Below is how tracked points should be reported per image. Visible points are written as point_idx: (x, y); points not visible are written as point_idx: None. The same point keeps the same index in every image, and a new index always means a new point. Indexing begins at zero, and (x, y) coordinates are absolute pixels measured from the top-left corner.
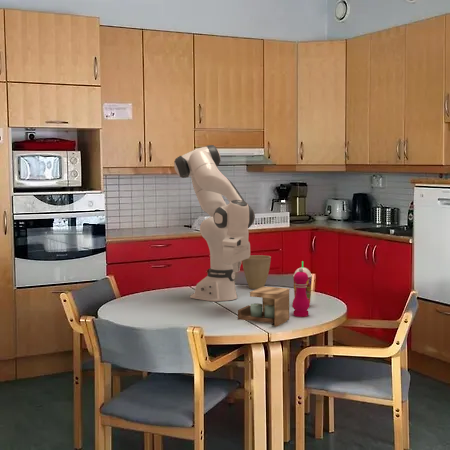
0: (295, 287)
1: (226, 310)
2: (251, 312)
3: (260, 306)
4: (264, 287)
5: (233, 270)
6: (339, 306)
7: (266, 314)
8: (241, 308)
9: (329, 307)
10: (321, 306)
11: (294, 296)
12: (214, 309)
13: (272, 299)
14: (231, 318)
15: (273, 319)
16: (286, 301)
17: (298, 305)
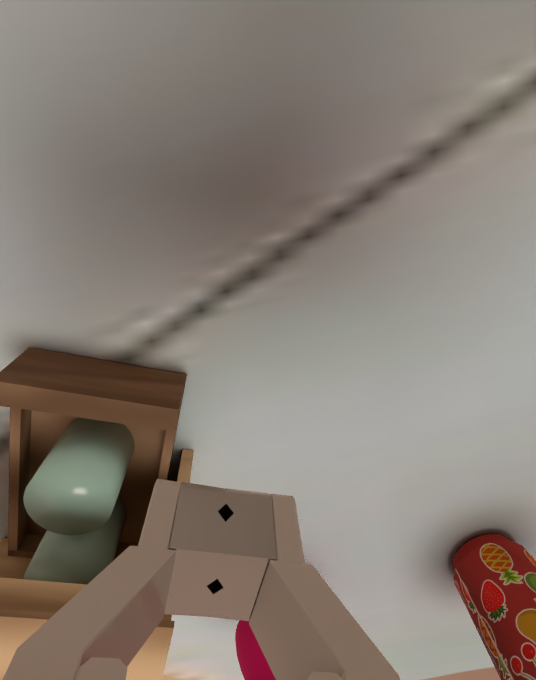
0: (527, 637)
1: (329, 194)
2: (53, 447)
3: (52, 525)
4: None
5: (150, 502)
6: (468, 665)
7: None
8: (55, 391)
9: (448, 642)
10: (467, 617)
11: (512, 570)
12: (351, 84)
13: None
14: (96, 288)
15: (11, 554)
16: None
17: (237, 642)
